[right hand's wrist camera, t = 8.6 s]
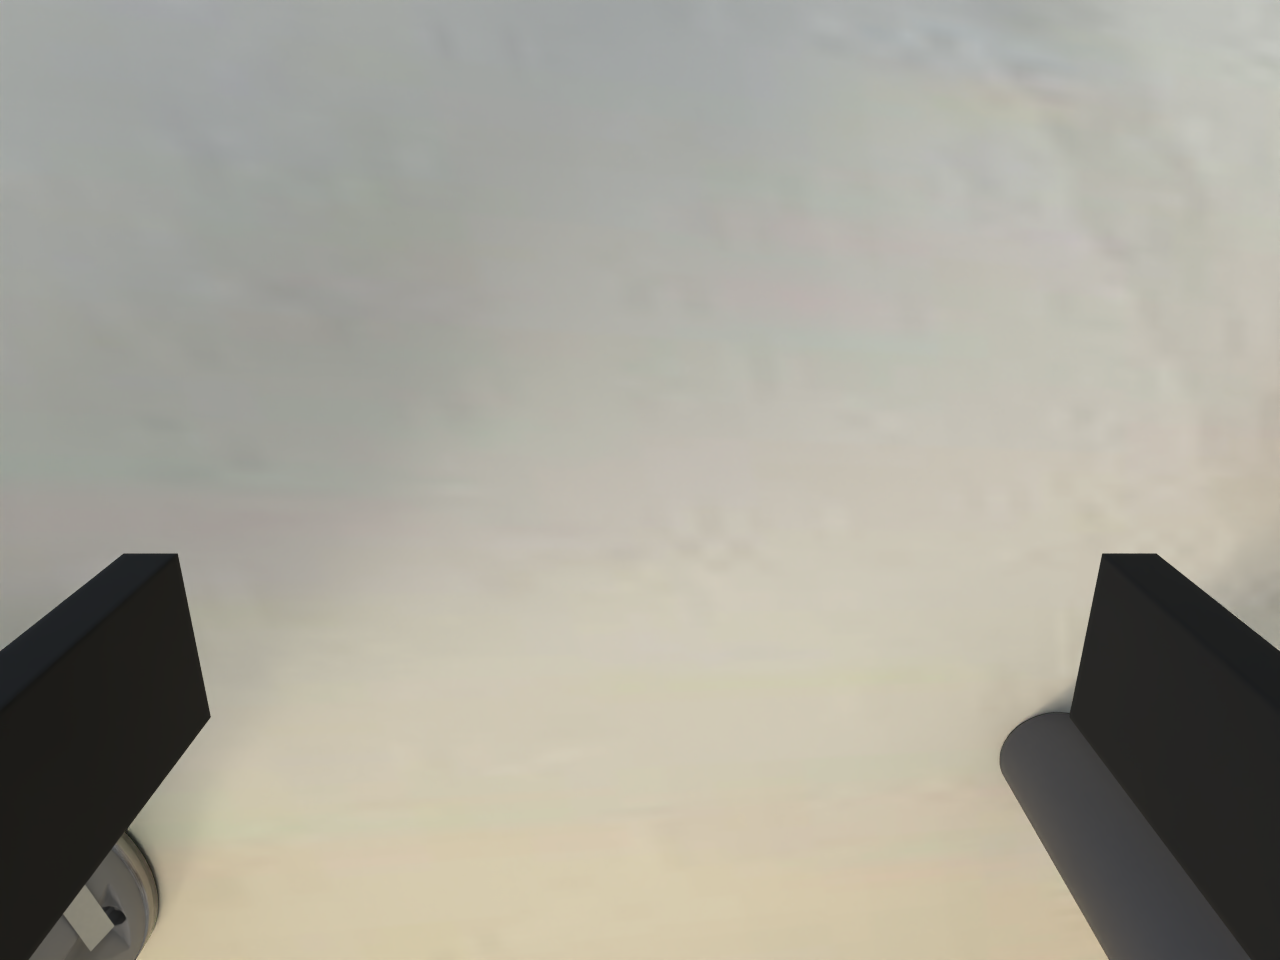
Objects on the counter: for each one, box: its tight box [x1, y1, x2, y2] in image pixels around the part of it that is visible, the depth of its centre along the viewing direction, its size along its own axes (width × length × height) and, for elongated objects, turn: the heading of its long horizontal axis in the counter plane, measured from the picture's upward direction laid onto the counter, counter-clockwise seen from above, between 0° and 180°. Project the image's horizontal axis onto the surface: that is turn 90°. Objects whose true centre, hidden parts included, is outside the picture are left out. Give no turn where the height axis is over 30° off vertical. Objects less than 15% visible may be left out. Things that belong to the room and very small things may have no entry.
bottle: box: [1000, 713, 1251, 960], centre depth 38 cm, size 5×5×21 cm
